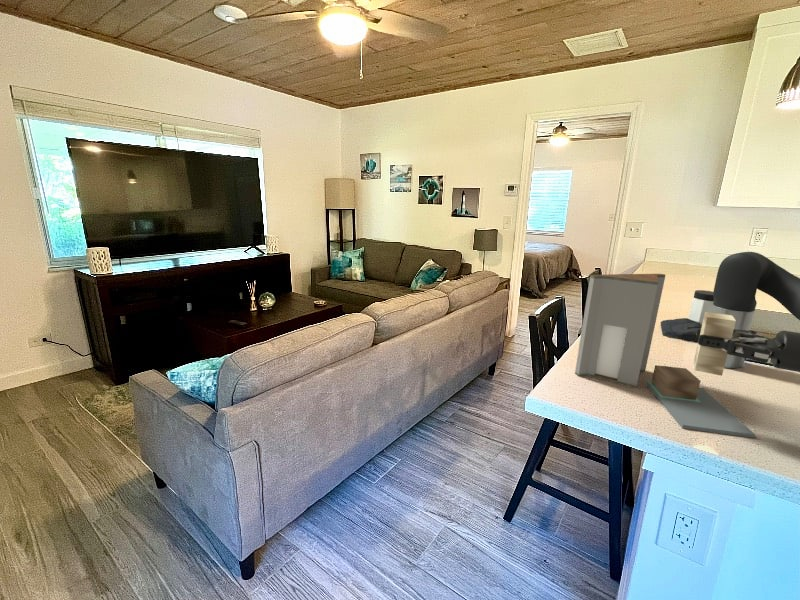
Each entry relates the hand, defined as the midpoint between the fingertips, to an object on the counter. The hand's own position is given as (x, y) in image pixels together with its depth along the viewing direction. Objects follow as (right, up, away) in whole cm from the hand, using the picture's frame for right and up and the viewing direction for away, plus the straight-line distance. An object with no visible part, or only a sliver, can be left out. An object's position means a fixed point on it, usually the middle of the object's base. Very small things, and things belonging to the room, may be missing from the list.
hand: (698, 336), depth 80 cm
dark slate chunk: (+42, -5, +58) cm, 71 cm away
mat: (+5, -18, +7) cm, 19 cm away
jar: (+58, -1, +71) cm, 92 cm away
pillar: (+2, -7, 0) cm, 8 cm away
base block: (+4, -15, +13) cm, 20 cm away
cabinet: (-5, -14, +20) cm, 25 cm away
